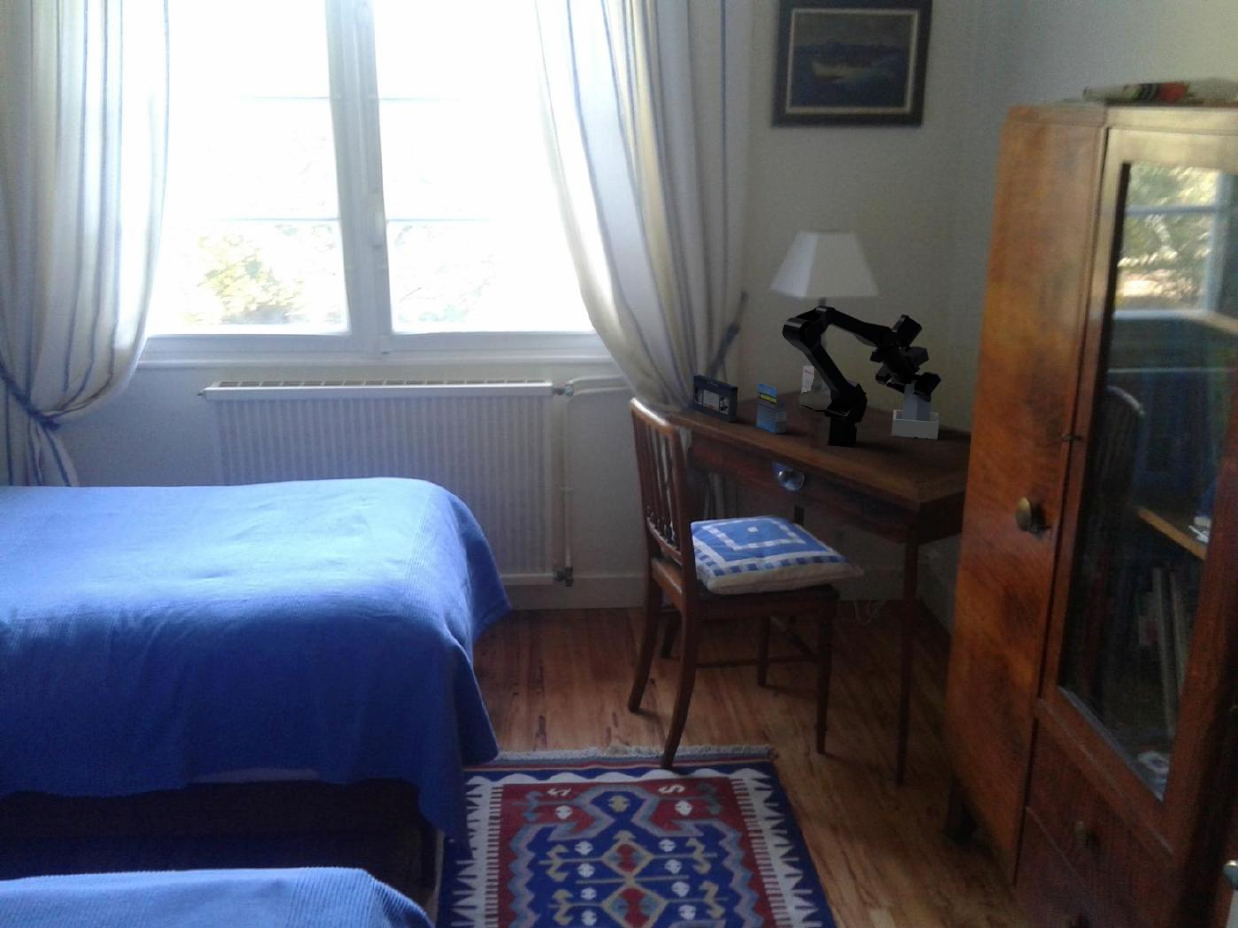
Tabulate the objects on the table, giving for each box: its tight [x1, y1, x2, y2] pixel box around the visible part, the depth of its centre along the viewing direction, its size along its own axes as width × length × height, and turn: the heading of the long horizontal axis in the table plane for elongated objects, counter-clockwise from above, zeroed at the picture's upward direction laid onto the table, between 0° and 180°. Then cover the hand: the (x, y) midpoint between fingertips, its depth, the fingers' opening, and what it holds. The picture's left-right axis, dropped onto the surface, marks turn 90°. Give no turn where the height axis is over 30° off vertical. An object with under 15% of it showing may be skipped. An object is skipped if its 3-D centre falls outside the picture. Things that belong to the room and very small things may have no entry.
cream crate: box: [890, 409, 940, 440], centre depth 284 cm, size 12×12×4 cm
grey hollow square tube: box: [902, 383, 933, 422], centre depth 282 cm, size 5×5×13 cm
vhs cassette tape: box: [692, 374, 739, 424], centre depth 297 cm, size 18×3×10 cm, turn 28°
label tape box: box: [756, 381, 788, 435], centre depth 283 cm, size 9×4×12 cm, turn 27°
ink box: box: [800, 365, 830, 396], centre depth 308 cm, size 8×5×12 cm, turn 22°
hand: (921, 398), depth 283 cm, fingers open, 6 cm apart
